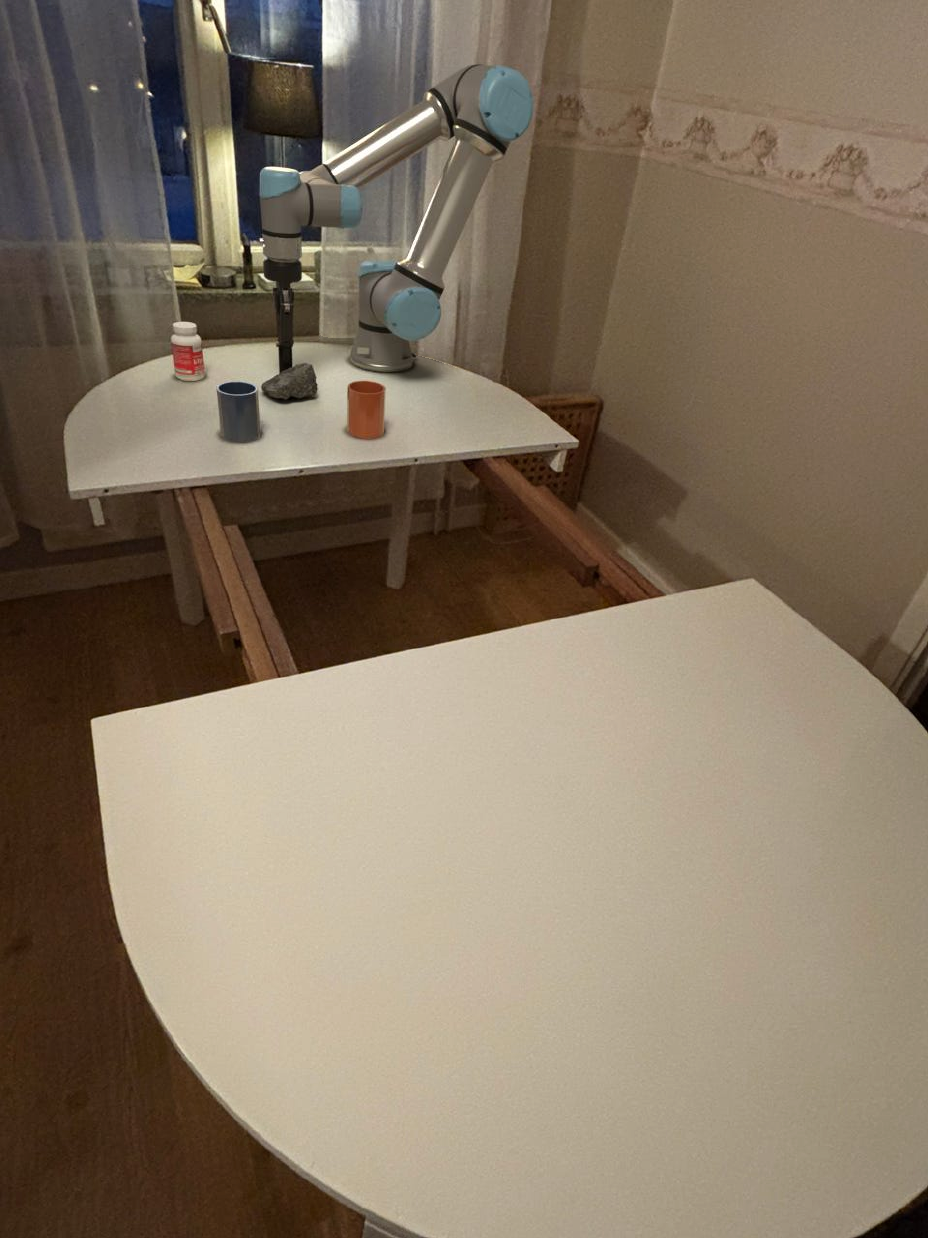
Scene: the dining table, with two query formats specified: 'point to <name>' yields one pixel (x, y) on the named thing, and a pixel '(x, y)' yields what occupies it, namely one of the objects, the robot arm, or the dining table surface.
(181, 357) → the pill bottle
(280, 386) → the rock
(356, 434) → the orange cup
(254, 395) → the cup
